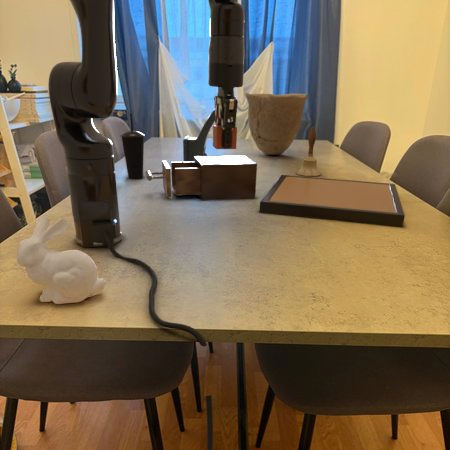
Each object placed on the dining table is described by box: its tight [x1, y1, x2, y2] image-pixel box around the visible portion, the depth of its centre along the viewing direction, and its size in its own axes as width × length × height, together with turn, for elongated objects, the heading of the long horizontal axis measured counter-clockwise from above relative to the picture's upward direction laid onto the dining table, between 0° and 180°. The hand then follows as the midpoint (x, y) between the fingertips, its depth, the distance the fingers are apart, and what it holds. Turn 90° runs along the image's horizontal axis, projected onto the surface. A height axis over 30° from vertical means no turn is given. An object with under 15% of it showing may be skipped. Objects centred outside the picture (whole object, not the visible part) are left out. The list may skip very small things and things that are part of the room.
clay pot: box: [244, 92, 309, 156], centre depth 187 cm, size 27×28×25 cm
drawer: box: [144, 160, 201, 199], centre depth 124 cm, size 20×12×8 cm, turn 103°
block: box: [212, 124, 238, 150], centre depth 98 cm, size 5×5×5 cm
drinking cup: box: [120, 112, 145, 180], centre depth 141 cm, size 8×8×20 cm
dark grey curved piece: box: [182, 108, 215, 162], centre depth 163 cm, size 11×17×24 cm, turn 87°
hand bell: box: [297, 126, 321, 177], centre depth 154 cm, size 8×8×16 cm
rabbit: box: [16, 214, 106, 305], centre depth 67 cm, size 12×9×12 cm
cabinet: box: [194, 155, 258, 201], centre depth 127 cm, size 16×13×10 cm
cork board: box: [259, 174, 406, 228], centre depth 123 cm, size 36×3×35 cm
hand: (224, 145), depth 99 cm, fingers closed on block, 4 cm apart
